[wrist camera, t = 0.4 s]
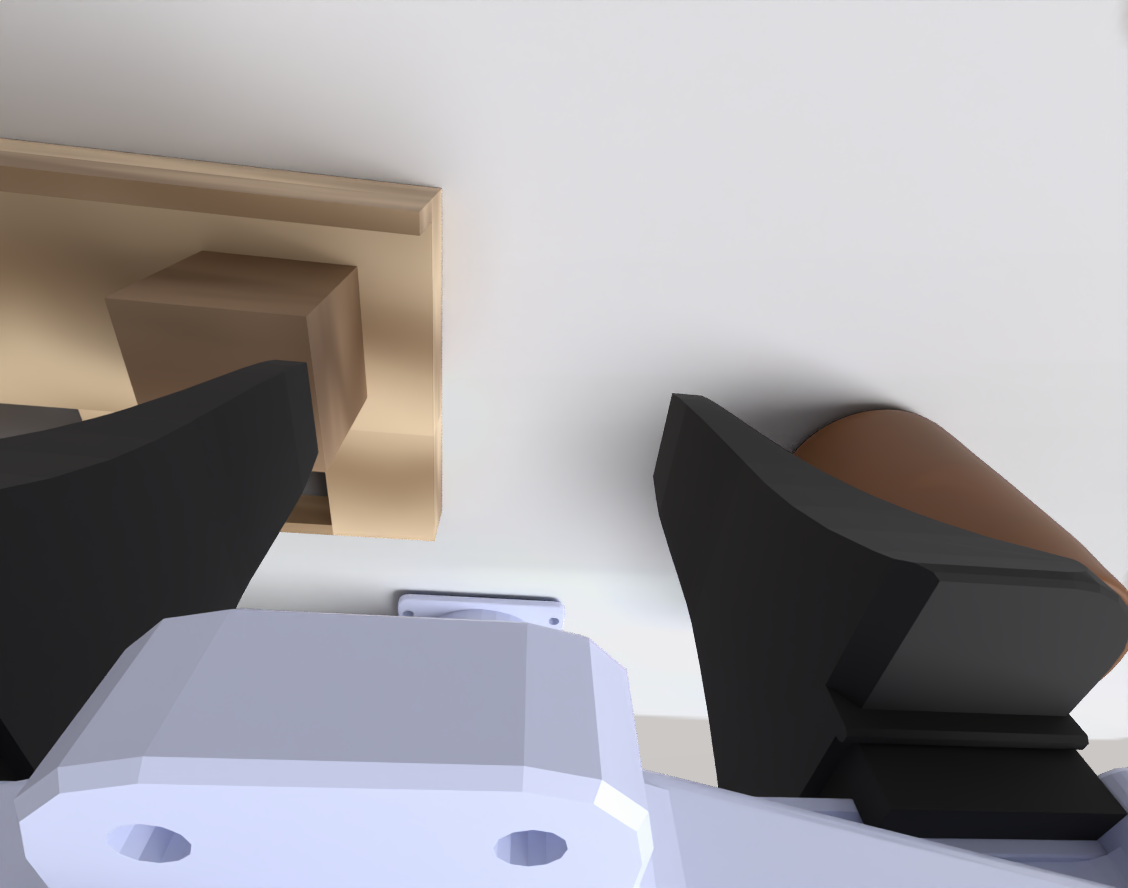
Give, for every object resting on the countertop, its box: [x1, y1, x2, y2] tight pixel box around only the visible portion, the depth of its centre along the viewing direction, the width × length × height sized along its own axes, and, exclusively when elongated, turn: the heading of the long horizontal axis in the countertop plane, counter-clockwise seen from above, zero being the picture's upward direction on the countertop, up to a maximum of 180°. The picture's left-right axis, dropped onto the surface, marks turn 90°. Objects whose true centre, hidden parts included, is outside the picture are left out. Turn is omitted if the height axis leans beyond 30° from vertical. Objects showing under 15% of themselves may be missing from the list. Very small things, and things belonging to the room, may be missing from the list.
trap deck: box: [0, 138, 442, 541], centre depth 19 cm, size 13×20×4 cm, turn 84°
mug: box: [793, 410, 1128, 679], centre depth 22 cm, size 12×8×9 cm, turn 179°
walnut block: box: [104, 251, 367, 472], centre depth 16 cm, size 4×4×4 cm
